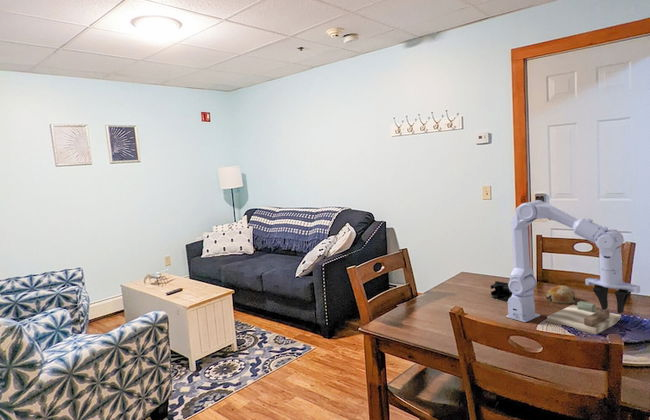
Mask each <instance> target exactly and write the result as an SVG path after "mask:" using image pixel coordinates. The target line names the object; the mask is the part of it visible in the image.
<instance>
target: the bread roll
mask: <svg viewBox="0 0 650 420" xmlns="http://www.w3.org/2000/svg"><path fill="white" fill-rule="evenodd" d="M545 299H547V300H548V301H549V302H551V303H554V304H558V305H559V304H561V305H562V304H565V305H568V304H569V305H570V304H575V302H576V294H575V291H574V290H573V289H572V288H570V287H569V286H567V285H562V284H561V285H560V284H558V285H555V286H552V287H550V288H549V289H548V291H546V295H545Z"/></svg>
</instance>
